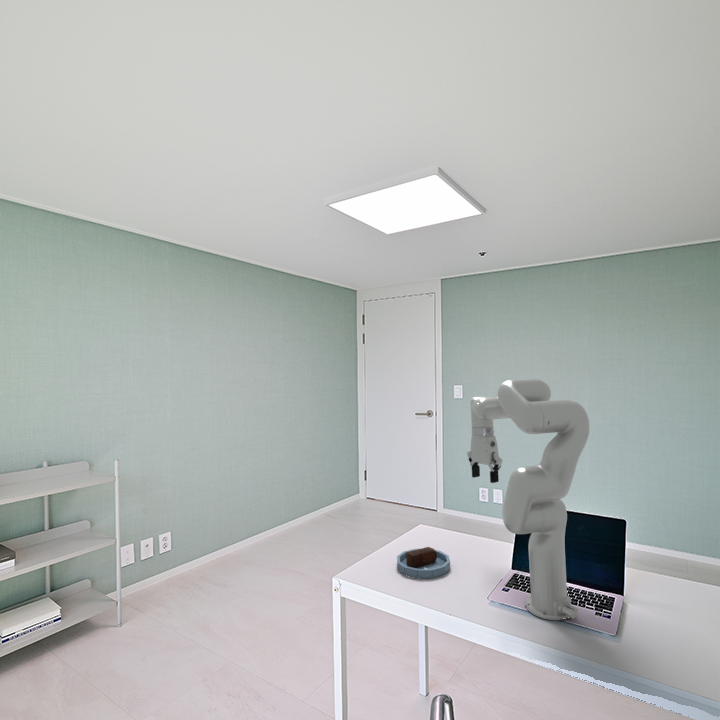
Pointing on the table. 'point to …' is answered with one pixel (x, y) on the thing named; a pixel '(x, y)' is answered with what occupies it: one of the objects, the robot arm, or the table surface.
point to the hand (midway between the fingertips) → (485, 479)
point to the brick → (421, 557)
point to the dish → (428, 570)
